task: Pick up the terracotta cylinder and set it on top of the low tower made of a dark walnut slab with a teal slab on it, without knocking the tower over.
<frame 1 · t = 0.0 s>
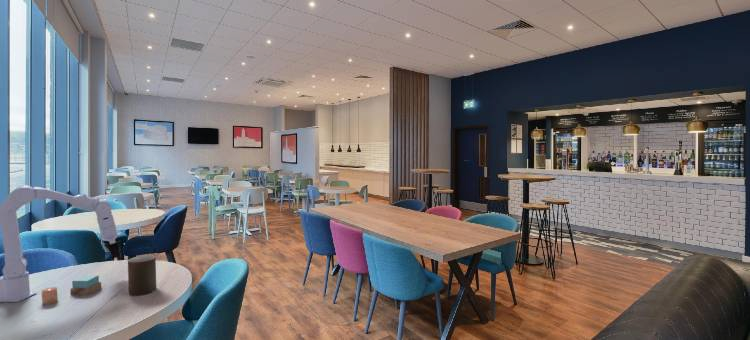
hand: (115, 255, 161), 11 cm above the table, tool pointing down, fingers open, 7 cm apart
teal top slab: (86, 285, 147), point 3 cm above the table, touching walnut base slab
pillar candle: (143, 291, 148), on the table
walnut base slab: (86, 292, 147), on the table, touching teal top slab
terracotta cylinder: (50, 302, 137), on the table
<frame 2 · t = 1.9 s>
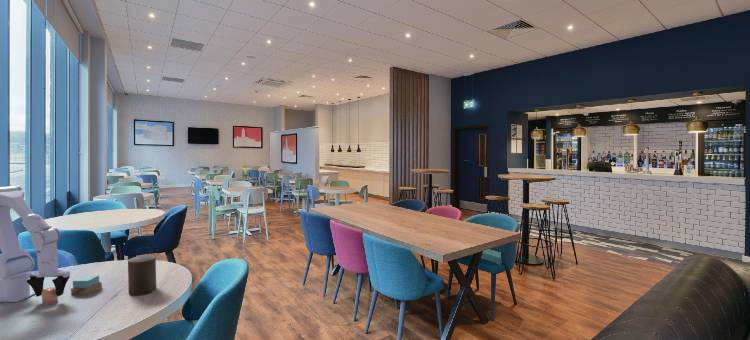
hand: (49, 295, 137), 3 cm above the table, tool pointing down, fingers open, 7 cm apart
nothing on the table moved.
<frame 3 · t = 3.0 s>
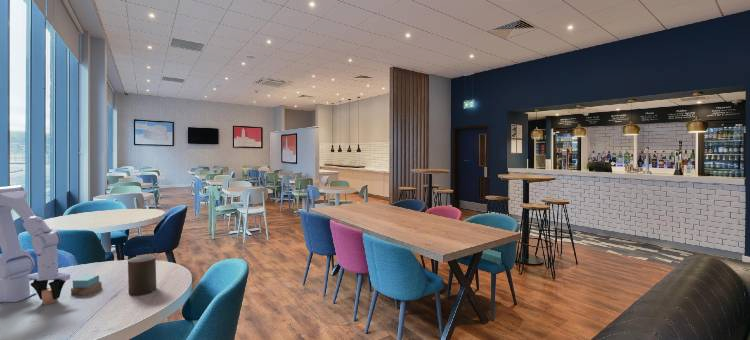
hand: (49, 298, 137), 1 cm above the table, tool pointing down, fingers closed on terracotta cylinder, 4 cm apart
teal top slab: (86, 284, 147), point 3 cm above the table
walnut base slab: (86, 292, 147), on the table
terracotta cylinder: (50, 302, 137), on the table, touching gripper
everything else where it was.
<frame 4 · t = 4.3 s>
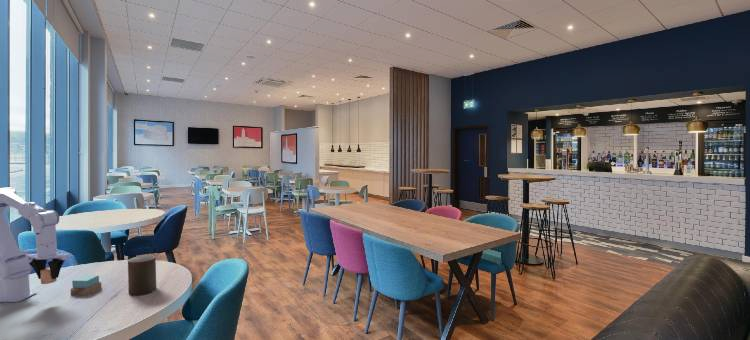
hand: (48, 278, 136), 9 cm above the table, tool pointing down, fingers closed on terracotta cylinder, 4 cm apart
teal top slab: (86, 285, 147), point 3 cm above the table, touching walnut base slab
walnut base slab: (86, 292, 147), on the table, touching teal top slab
terracotta cylinder: (48, 281, 137), point 8 cm above the table, touching gripper
everything else where it was.
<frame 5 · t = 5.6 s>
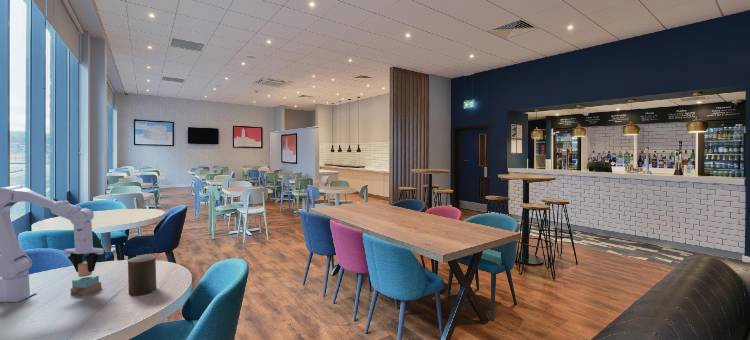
hand: (85, 271, 147), 8 cm above the table, tool pointing down, fingers closed on terracotta cylinder, 4 cm apart
terracotta cylinder: (85, 274, 147), point 7 cm above the table, touching gripper
everything else where it was.
when the fingers open (8 cm above the table, at t = 6.2 s): terracotta cylinder drops 1 cm, resting on teal top slab.
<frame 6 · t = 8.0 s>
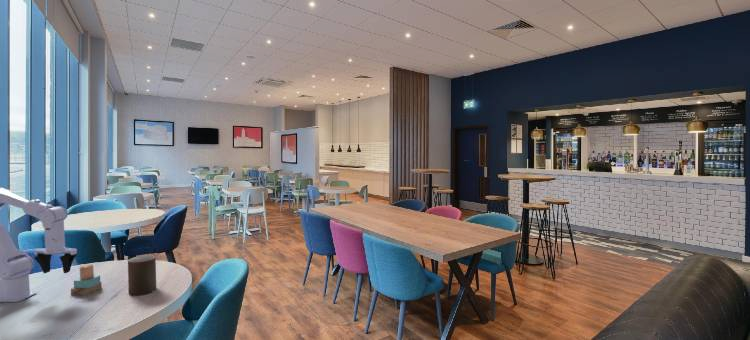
hand: (56, 272, 140), 10 cm above the table, tool pointing down, fingers open, 7 cm apart
teal top slab: (87, 285, 147), point 3 cm above the table, touching terracotta cylinder, walnut base slab
terracotta cylinder: (87, 278, 147), point 6 cm above the table, touching teal top slab
everything else where it was.
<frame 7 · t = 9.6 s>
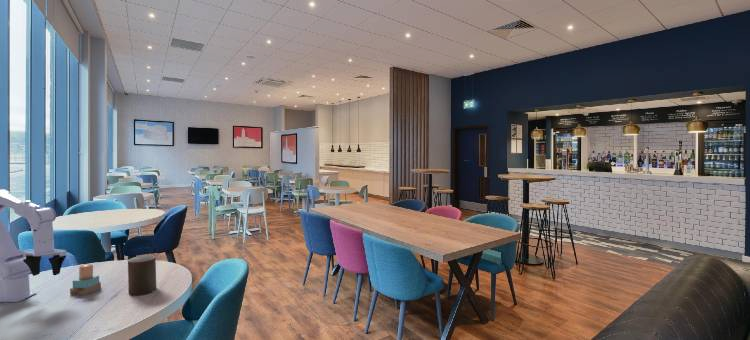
hand: (46, 274, 137), 10 cm above the table, tool pointing down, fingers open, 7 cm apart
nothing on the table moved.
at the end: terracotta cylinder 0.1 cm off-centre on the teal top slab, point 3.1 cm above the teal top slab's base; teal top slab 0.2 cm off-centre on the walnut base slab, point 3.0 cm above the walnut base slab's base; terracotta cylinder tilted 3° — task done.
